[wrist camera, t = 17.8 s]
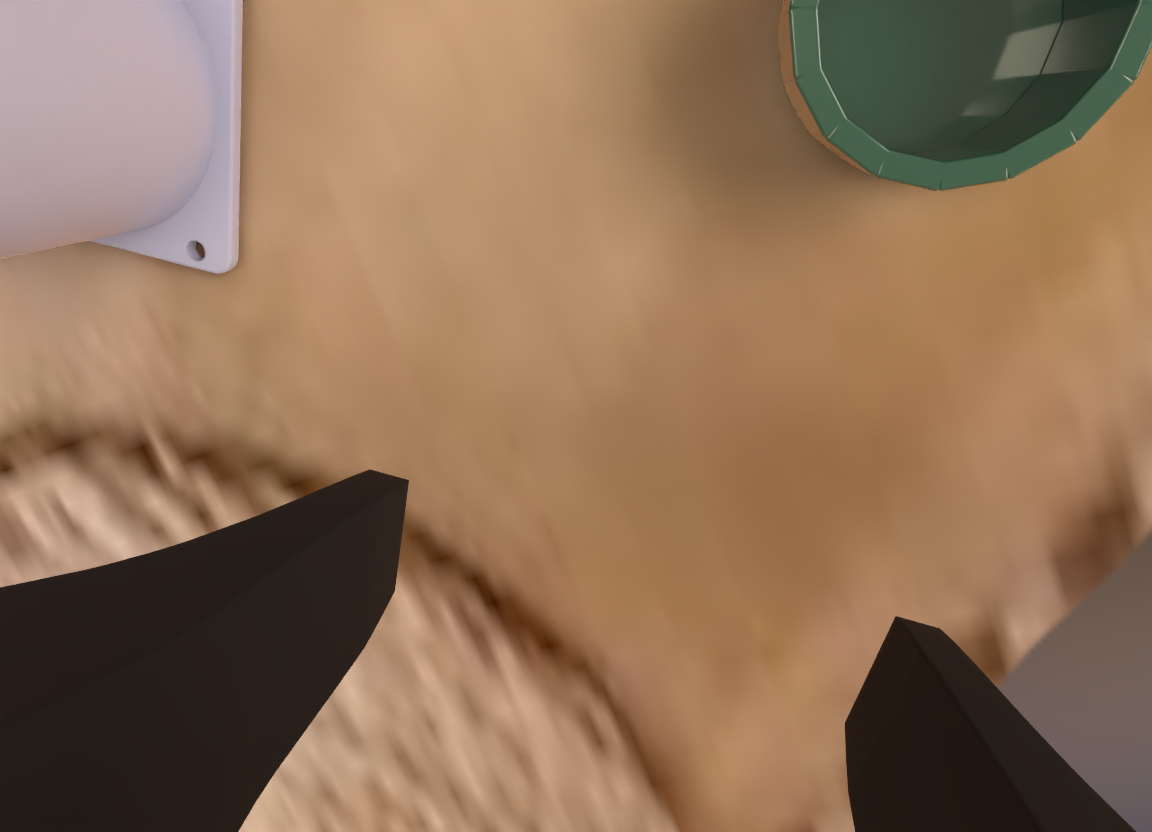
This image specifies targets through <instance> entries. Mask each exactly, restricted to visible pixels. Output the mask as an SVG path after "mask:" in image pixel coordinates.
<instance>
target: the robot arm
mask: <svg viewBox="0 0 1152 832" xmlns="http://www.w3.org/2000/svg"><path fill="white" fill-rule="evenodd" d="M242 28H243V0H0V259H5V258H10V257H14V256H19V255H24V254H29V253H33V252H38V251H43V250H47V249H52V248H57V247H61V246H66V245H71V244H76V243H80V242H85V241H92V242H96V243H99V244H103V245H107V246H111V247H115V248H119V249H122V250H126V251H130V252H134V253H138V254H142V255H146V256H149V257H153V258H157V259H161V260H165V261H169V262H173V263H176V264H180V265H184V266H188V267H192V268H196V269H199V270H203V271H207V272H211V273H217V274H221V273H224V272H227V271H230V270H232V269H234V267H235V266H236V265H237V262H238V258H239V202H240V144H241V86H242ZM197 242H199V243H201V245H202V246H203V247H204V251H205V256H204V257H202V256H201V255H200V254H199V253H198V251H197V248H196V244H197ZM408 483H409V480H406V479H402V478H399V477H395V476H392V475H388V474H384V473H381V472H377V471H374V470H368V471H365V472H362V473H359V474H357V475H354V476H352V477H349V478H347V479H344V480H342V481H339V482H337V483H335V484H332V485H330V486H328V487H325V488H323V489H321V490H318V491H316V492H314V493H311V494H309V495H307V496H304V497H302V498H299V499H297V500H295V501H292V502H290V503H287V504H285V505H282V506H280V507H278V508H275V509H273V510H270V511H268V512H265V513H263V514H261V515H258V516H256V517H253V518H250V519H247V520H245V521H242V522H239V523H236V524H234V525H231V526H228V527H225V528H223V529H220V530H217V531H214V532H212V533H209V534H206V535H203V536H201V537H198V538H195V539H192V540H190V541H186V542H183V543H180V544H177V545H174V546H171V547H168V548H164V549H161V550H158V551H154V552H151V553H148V554H144V555H140V556H137V557H133V558H129V559H126V560H122V561H118V562H115V563H111V564H107V565H103V566H99V567H95V568H91V569H87V570H82V571H78V572H73V573H68V574H63V575H59V576H54V577H49V578H44V579H39V580H35V581H30V582H25V583H20V584H16V585H11V586H6V587H1V588H0V832H238V831H239V829H240V828H241V826H242V824H243V823H244V821H245V819H246V817H247V816H248V814H249V812H250V811H251V809H252V807H253V805H254V804H255V802H256V801H257V799H258V798H259V796H260V795H261V793H262V791H263V790H264V788H265V787H266V785H267V784H268V782H269V781H270V779H271V778H272V776H273V775H274V773H275V772H276V770H277V769H278V768H279V766H280V765H281V763H282V762H283V761H284V759H285V758H286V757H287V755H288V754H289V752H290V751H291V750H292V748H293V747H294V745H295V744H296V743H297V741H298V740H299V739H300V737H301V736H302V734H303V733H304V732H305V730H306V729H307V727H308V726H309V725H310V723H311V722H312V720H313V719H314V718H315V716H316V715H317V714H318V712H319V711H320V709H321V708H322V707H323V705H324V704H325V702H326V701H327V700H328V698H329V697H330V696H331V694H332V693H333V691H334V690H335V689H336V687H337V686H338V684H339V683H340V682H341V680H342V679H343V677H344V676H345V675H346V673H347V672H348V670H349V669H350V667H351V666H352V665H353V663H354V662H355V660H356V659H357V658H358V656H359V655H360V653H361V652H362V650H363V649H364V647H365V646H366V644H367V642H368V640H369V639H370V637H371V635H372V633H373V631H374V629H375V628H376V626H377V624H378V622H379V620H380V618H381V617H382V615H383V613H384V611H385V609H386V607H387V605H388V603H389V601H390V599H391V597H392V595H393V593H394V592H395V585H396V577H397V569H398V562H399V554H400V546H401V538H402V530H403V522H404V514H405V507H406V499H407V491H408ZM845 740H846V764H847V779H848V793H849V799H850V805H851V811H852V816H853V821H854V827H855V832H1136V831H1135V830H1134V829H1133V828H1132V827H1131V826H1130V825H1129V824H1128V823H1127V822H1126V821H1125V820H1124V819H1123V818H1122V817H1121V816H1119V814H1117V812H1115V811H1114V810H1113V809H1112V808H1111V807H1110V806H1109V805H1108V804H1107V803H1106V802H1105V801H1104V800H1103V799H1102V798H1101V797H1100V796H1099V795H1098V794H1097V793H1096V792H1095V791H1094V790H1093V789H1092V788H1091V787H1090V786H1089V785H1088V784H1087V783H1086V782H1085V781H1084V780H1083V779H1082V778H1081V777H1080V776H1079V775H1078V774H1077V773H1076V772H1075V771H1074V770H1073V769H1072V768H1071V767H1070V766H1069V765H1068V763H1066V762H1065V760H1064V759H1062V757H1061V756H1060V755H1059V754H1058V753H1057V752H1056V751H1055V750H1054V749H1053V748H1052V747H1051V746H1050V745H1049V744H1048V743H1047V742H1046V740H1045V739H1044V738H1043V737H1042V736H1041V735H1040V734H1039V733H1038V732H1037V731H1036V730H1035V729H1034V728H1033V727H1032V725H1031V724H1030V723H1029V722H1028V721H1027V720H1026V719H1025V718H1024V717H1023V716H1022V715H1021V714H1020V713H1019V711H1018V710H1017V709H1016V708H1015V707H1014V706H1013V705H1012V704H1011V703H1010V702H1009V700H1008V699H1007V698H1006V697H1005V696H1004V695H1003V694H1002V693H1001V692H1000V691H999V690H998V688H997V687H996V686H995V685H994V684H993V683H992V682H991V681H990V680H989V679H988V677H987V676H986V675H985V674H984V673H983V672H982V671H981V670H980V669H979V668H978V667H977V666H976V664H975V663H974V662H973V661H972V660H971V659H970V658H969V657H968V656H967V655H966V654H965V653H964V652H963V651H962V650H961V649H960V647H959V646H958V645H957V644H956V643H955V642H954V641H953V640H952V639H951V638H950V637H948V636H947V635H946V634H945V633H944V632H943V631H942V630H941V629H940V628H936V627H933V626H929V625H925V624H922V623H918V622H915V621H911V620H907V619H904V618H900V617H897V616H896V617H895V619H894V621H893V623H892V625H891V627H890V629H889V632H888V634H887V636H886V638H885V640H884V642H883V644H882V646H881V648H880V650H879V653H878V655H877V657H876V659H875V661H874V663H873V665H872V667H871V669H870V671H869V674H868V676H867V678H866V680H865V682H864V684H863V686H862V688H861V690H860V692H859V695H858V697H857V699H856V701H855V703H854V705H853V707H852V709H851V711H850V713H849V716H848V718H847V720H846V722H845Z"/></svg>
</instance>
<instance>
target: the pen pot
mask: <svg viewBox="0 0 1152 832" xmlns="http://www.w3.org/2000/svg"><path fill="white" fill-rule="evenodd" d="M778 22H779V26H778V34H779V35H778V44H779V61H780V68H781V74H782V81H783V83H784V88H785V89H786V92H787V94H788V97H789V99H790V101H791V104H792V106H793V108H794V110H795V111H796V113H797V115H798V116H799V118H800V120H801V121H802V123H803V124H804V126H805V128H806V130H807V131H808V132H810V134H811V135H812V136H813V137H814V138H816V139H817V140H818V141H819V142H821V143H822V144H823V145H824V146H825V147H826V148H827V149H829V150H831V151H832V152H834V153H835V154H836V155H838V156H839V157H840V158H842V159H843V160H844V161H846V162H847V163H848V164H850V165H852V166H854V167H856V168H858V169H860V170H863V171H865V172H867V173H869V174H871V175H873V176H875V177H877V178H881V179H886V180H890V181H894V182H899V183H903V184H908V185H912V186H916V187H921V188H925V189H929V190H934V191H935V190H940V191H944V190H950V189H956V188H962V187H968V186H974V185H981V184H987V183H993V182H999V181H1005V180H1007V179H1011V178H1013V177H1015V176H1017V175H1019V174H1021V173H1023V172H1024V171H1026V170H1028V169H1030V168H1032V167H1033V166H1035V165H1037V164H1039V163H1041V162H1043V161H1044V160H1046V159H1048V158H1050V157H1052V156H1054V155H1055V154H1057V153H1059V152H1061V151H1063V150H1065V149H1066V148H1068V147H1070V146H1072V145H1074V144H1075V143H1076V142H1077V141H1078V140H1080V139H1081V138H1082V137H1083V136H1084V135H1085V134H1086V133H1087V132H1088V131H1089V130H1090V128H1091V127H1092V126H1093V125H1094V124H1095V123H1096V122H1097V121H1098V120H1099V119H1100V118H1101V117H1102V116H1103V115H1104V114H1105V113H1106V112H1107V110H1108V109H1109V108H1110V107H1111V106H1112V105H1113V104H1114V103H1115V102H1116V101H1117V100H1118V99H1119V98H1120V97H1121V96H1122V95H1123V94H1124V92H1125V91H1126V90H1127V89H1128V88H1129V87H1130V86H1131V85H1132V84H1133V82H1134V81H1133V80H1135V79H1136V78H1137V77H1138V75H1139V73H1140V70H1141V68H1142V66H1143V64H1144V62H1145V60H1146V58H1147V56H1148V53H1149V51H1150V49H1151V47H1152V0H784V2H783V6H782V11H781V14H780V18H779V21H778Z"/></svg>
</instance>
